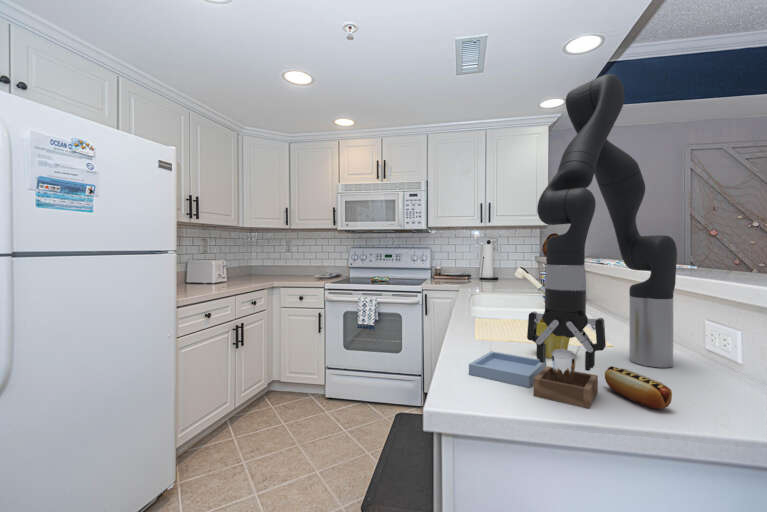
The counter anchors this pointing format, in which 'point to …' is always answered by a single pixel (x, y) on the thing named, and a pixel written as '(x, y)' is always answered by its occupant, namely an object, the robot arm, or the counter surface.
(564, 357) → the milkshake
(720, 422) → the counter surface
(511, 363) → the tray
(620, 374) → the hot dog
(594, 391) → the holder
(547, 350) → the plant pot
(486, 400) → the counter surface
